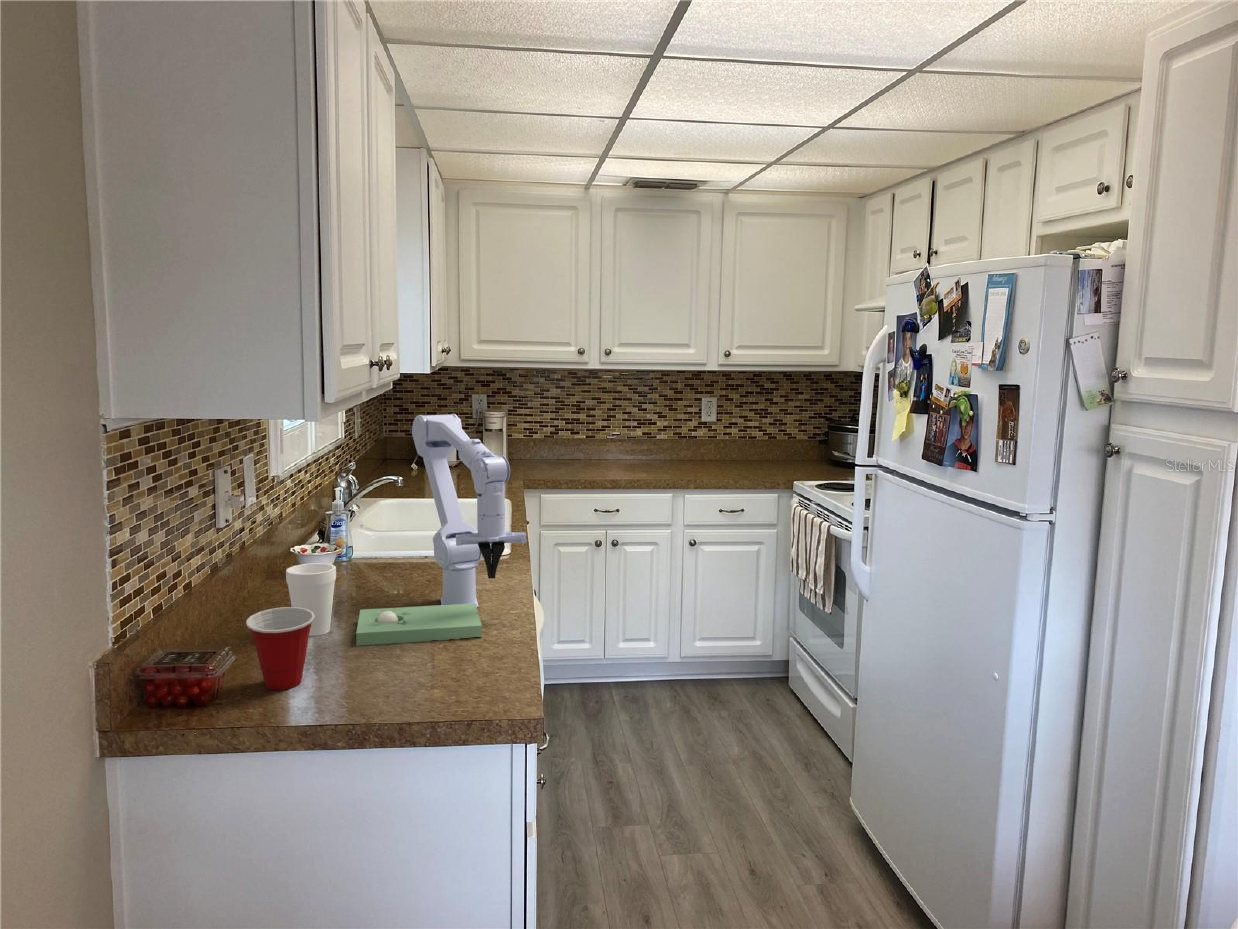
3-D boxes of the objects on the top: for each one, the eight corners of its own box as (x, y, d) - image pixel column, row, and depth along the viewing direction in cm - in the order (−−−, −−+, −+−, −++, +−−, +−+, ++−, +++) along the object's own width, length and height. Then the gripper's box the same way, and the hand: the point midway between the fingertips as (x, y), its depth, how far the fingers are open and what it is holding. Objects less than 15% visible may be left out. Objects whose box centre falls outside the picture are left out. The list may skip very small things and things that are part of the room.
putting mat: (360, 621, 183) (360, 609, 183) (475, 614, 189) (475, 603, 188) (356, 645, 168) (356, 633, 167) (481, 637, 173) (481, 625, 173)
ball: (391, 626, 179) (373, 623, 177) (398, 609, 179) (379, 606, 177) (395, 636, 176) (376, 632, 174) (402, 618, 175) (383, 615, 173)
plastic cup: (244, 699, 141) (241, 628, 140) (253, 676, 152) (250, 609, 150) (314, 693, 144) (312, 623, 143) (319, 670, 154) (316, 605, 153)
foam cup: (321, 621, 183) (319, 560, 181) (346, 630, 177) (345, 568, 175) (279, 632, 175) (276, 569, 174) (304, 642, 170) (302, 577, 168)
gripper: (456, 518, 176) (457, 583, 178) (528, 516, 180) (528, 580, 181) (455, 512, 183) (455, 575, 185) (523, 510, 186) (523, 572, 188)
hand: (491, 577), depth 184 cm, fingers closed
